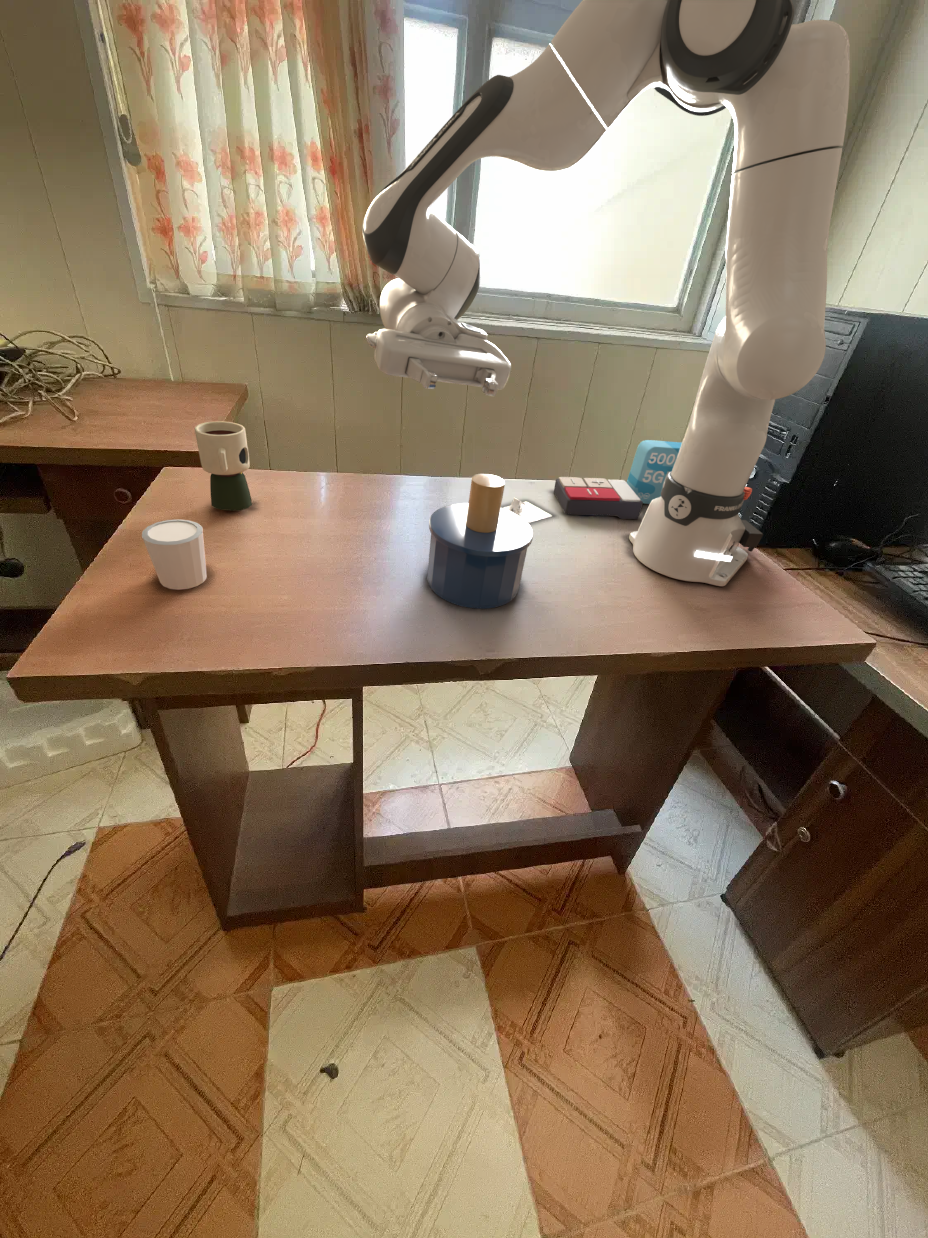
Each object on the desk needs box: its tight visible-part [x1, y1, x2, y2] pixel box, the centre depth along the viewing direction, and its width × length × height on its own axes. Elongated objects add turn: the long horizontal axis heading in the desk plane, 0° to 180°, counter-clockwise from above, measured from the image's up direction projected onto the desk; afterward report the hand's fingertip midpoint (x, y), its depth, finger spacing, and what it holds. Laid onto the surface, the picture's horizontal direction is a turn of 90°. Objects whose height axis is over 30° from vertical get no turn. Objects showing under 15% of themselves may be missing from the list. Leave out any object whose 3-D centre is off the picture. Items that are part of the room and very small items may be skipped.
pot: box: [426, 533, 528, 610], centre depth 75 cm, size 13×13×8 cm
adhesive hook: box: [508, 497, 526, 516], centre depth 97 cm, size 3×3×3 cm
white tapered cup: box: [141, 518, 208, 591], centre depth 67 cm, size 7×7×7 cm
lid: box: [428, 473, 534, 557], centre depth 70 cm, size 14×14×8 cm
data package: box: [626, 439, 682, 505], centre depth 109 cm, size 12×4×12 cm, turn 98°
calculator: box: [553, 476, 643, 520], centre depth 105 cm, size 11×4×15 cm
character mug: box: [194, 420, 253, 512], centre depth 83 cm, size 11×7×13 cm, turn 19°
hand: (462, 387), depth 71 cm, fingers open, 8 cm apart
